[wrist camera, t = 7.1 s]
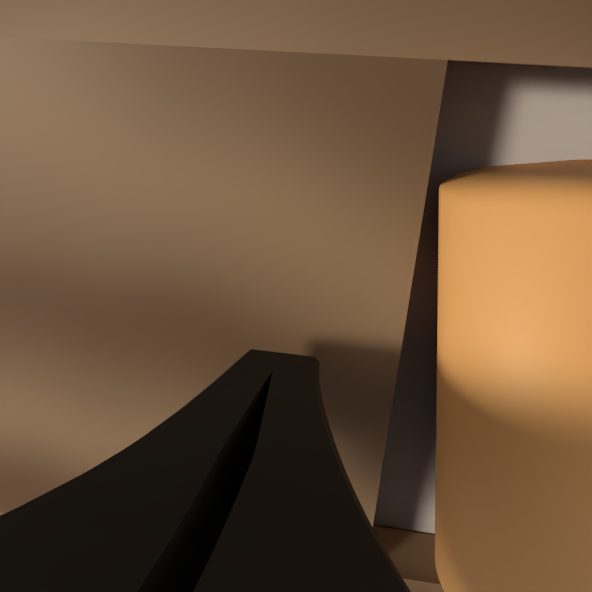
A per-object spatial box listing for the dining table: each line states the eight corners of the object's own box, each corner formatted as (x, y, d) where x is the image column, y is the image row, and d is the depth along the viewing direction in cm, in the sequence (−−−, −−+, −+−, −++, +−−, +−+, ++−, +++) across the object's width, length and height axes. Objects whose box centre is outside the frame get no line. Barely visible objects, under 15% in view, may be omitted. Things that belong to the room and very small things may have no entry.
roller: (632, 541, 12) (615, 704, 9) (464, 481, 14) (407, 597, 11) (721, 159, 8) (741, 227, 5) (478, 159, 11) (401, 207, 8)
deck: (729, 656, 14) (766, 717, 13) (-34, 526, 17) (-70, 566, 16) (1286, -142, 7) (1514, -194, 5) (-256, -153, 9) (-363, -191, 8)
